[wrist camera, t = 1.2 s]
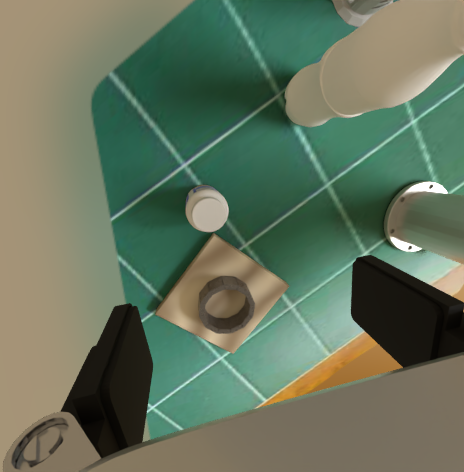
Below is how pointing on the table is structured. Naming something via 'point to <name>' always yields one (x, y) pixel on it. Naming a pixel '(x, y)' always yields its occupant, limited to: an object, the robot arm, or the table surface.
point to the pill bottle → (206, 208)
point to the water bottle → (379, 62)
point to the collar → (234, 321)
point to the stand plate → (221, 292)
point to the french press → (358, 9)
